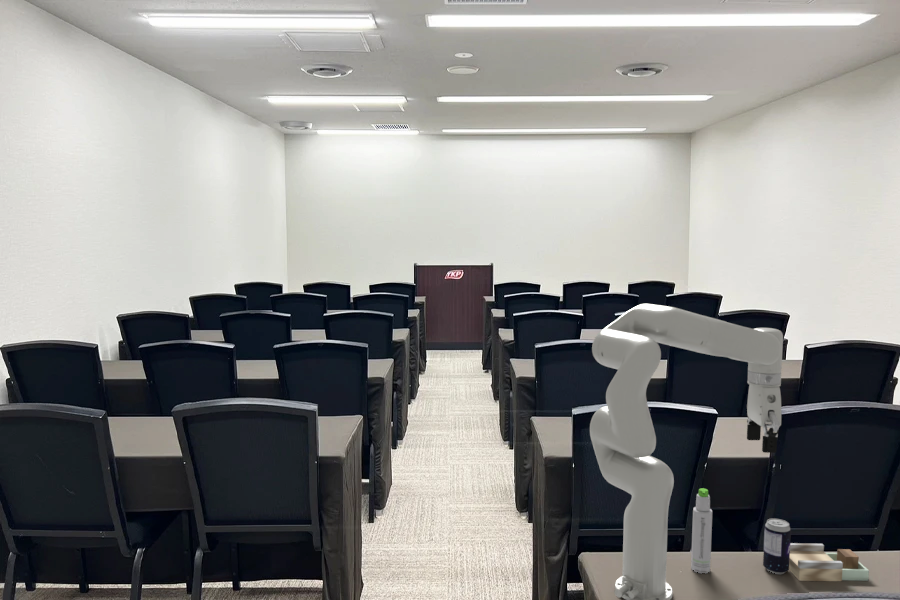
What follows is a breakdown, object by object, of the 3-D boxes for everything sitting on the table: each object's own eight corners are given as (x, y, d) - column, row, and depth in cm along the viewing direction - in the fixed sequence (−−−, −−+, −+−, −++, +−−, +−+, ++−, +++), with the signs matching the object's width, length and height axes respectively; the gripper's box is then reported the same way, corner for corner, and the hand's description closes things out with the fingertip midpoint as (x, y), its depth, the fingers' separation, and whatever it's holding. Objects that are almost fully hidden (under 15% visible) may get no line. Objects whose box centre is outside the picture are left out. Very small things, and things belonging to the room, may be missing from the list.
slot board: (799, 580, 166) (800, 562, 165) (780, 560, 176) (781, 543, 175) (841, 581, 165) (842, 562, 165) (821, 561, 175) (822, 543, 175)
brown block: (845, 556, 168) (858, 557, 168) (837, 549, 172) (850, 549, 172) (844, 572, 168) (857, 573, 168) (836, 564, 172) (849, 565, 172)
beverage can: (791, 577, 167) (794, 528, 166) (765, 574, 169) (768, 526, 167) (785, 565, 173) (787, 518, 172) (760, 563, 174) (762, 516, 173)
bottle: (688, 570, 171) (691, 490, 169) (694, 563, 174) (697, 485, 172) (706, 575, 168) (710, 494, 166) (712, 568, 172) (715, 489, 170)
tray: (840, 580, 166) (841, 569, 166) (822, 562, 175) (822, 552, 174) (868, 580, 166) (868, 570, 165) (848, 562, 174) (849, 552, 174)
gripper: (795, 386, 165) (791, 457, 167) (765, 371, 182) (762, 435, 184) (762, 386, 165) (759, 457, 167) (735, 370, 183) (733, 435, 184)
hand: (761, 445), depth 176 cm, fingers open, 9 cm apart
